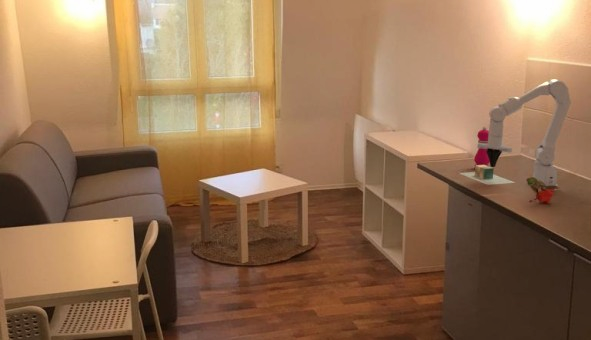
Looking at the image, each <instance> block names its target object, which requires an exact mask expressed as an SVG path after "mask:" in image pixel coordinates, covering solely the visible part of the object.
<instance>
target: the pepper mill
mask: <svg viewBox="0 0 591 340" xmlns="http://www.w3.org/2000/svg"><path fill="white" fill-rule="evenodd" d="M488 136H489V129H488V130H487V126H482V129H480V130H479V131H478V132H477V138H478V142H477V144H479V143H483V144H488ZM487 150H488V149H483V148H477V151H476V154H475V156H474V159H473V161H474V163H475V165H474V167H475V166H476V165H486V166H489V165H490V161H489V157H488V155H487V153H486V151H487ZM489 167H490V166H489Z"/></svg>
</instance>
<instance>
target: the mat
mask: <svg viewBox="0 0 591 340" xmlns="http://www.w3.org/2000/svg"><path fill="white" fill-rule="evenodd" d="M459 173H460V174H459V175H462V176H465V177H466V178H469V179H471V180H474V181H477V182H478V183H482V184H484V185H488V186H491V185H504V184H505V185H506V184H516V182H515V181H512V180H509V179H507V178H504V177H501V176H498V175H496V174H494V173H493V178H490V179H483V178H480V177H478V176H475V171H472V172H471V171H470V172H459Z"/></svg>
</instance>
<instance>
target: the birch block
mask: <svg viewBox="0 0 591 340" xmlns="http://www.w3.org/2000/svg"><path fill="white" fill-rule="evenodd" d="M494 169H495V167H490V166H486V165H476V166H475V165H474V172H475V176H478V177H480V178H483V179H490V178H493V174H494Z"/></svg>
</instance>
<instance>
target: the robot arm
mask: <svg viewBox="0 0 591 340" xmlns="http://www.w3.org/2000/svg"><path fill="white" fill-rule="evenodd" d="M539 96H552V98H553V100H554V101H555V103H556V105H555V108H554V110H553V113H552V116H551V119H550V121H549V123H548V127H547V128H546V131H545V133H544V134H545V135H544V137H543V139H542V141H541V142H540V144H539V146H538V147H537V148H536V149H535V151H534V156H535V158H536V160H535V161H534V165H533V175H532V177H534V178H536V179H537V181H538V182H539V180H540V181H541V182H543V183H544V184H545V185H546V187H553V186H555V187H558V186H559V185H558V184H557V182H558V181H557V180H558V169H557V167H556V166H554V160H555V151H556V144H557V141H558V138H559V135H560V133H561V130H562V127H563V125H564V123H565V120H566V118H567V114H568V111H569V109H570V107H571V104H572V101H571V98H570V93H569V88H568V86H567V85H566V83H565V82H564V81H561V80H559V79H556V78H552V79H549V80H548V81H545V82H543V83H541V84H539V85H538V86H537V85H536V86H535V87H534V88H533V89H531V90H529V91H528V92H525V94H523V95H521V96H519V97H517V96H513V97H512V96H510V97H508V100H506V101H505V102H503V103H499V104H497V106H493V107H492V108H491V109H490V111H489V113H488V114H489V118H490V120H489V124H488V131H489V136H488V144H483V143H477V146H476V147H477V149H479V148H483V149H488V150H487V151H486V153H487V155H488V157H489V161H490V163H489V165H490V166H489V167H492V168H495V167H496V166H497V162H498V160H499V158H500V156H501V154H502V153H503V152H505V153H512V152H513V147H511V146H505V145H503V137H504V120H505V119H506V117H510V115H512V114H514V113H516V112H518V111H519V110H521V109H522V108H523V106H524V105H525V104H526V103H529V102H530V101H533V100H534V99H536V98H538V97H539Z"/></svg>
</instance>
